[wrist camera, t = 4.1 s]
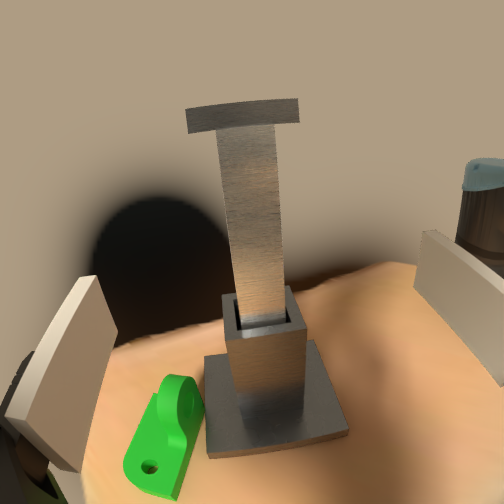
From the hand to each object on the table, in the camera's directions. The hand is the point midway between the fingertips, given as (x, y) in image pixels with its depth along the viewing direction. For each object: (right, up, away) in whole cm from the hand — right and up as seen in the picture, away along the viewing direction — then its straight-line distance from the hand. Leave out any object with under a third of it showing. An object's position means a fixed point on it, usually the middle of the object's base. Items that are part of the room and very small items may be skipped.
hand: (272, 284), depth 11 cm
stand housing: (+1, -15, +20) cm, 25 cm away
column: (+1, -14, +19) cm, 24 cm away
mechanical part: (-10, -20, +15) cm, 27 cm away
